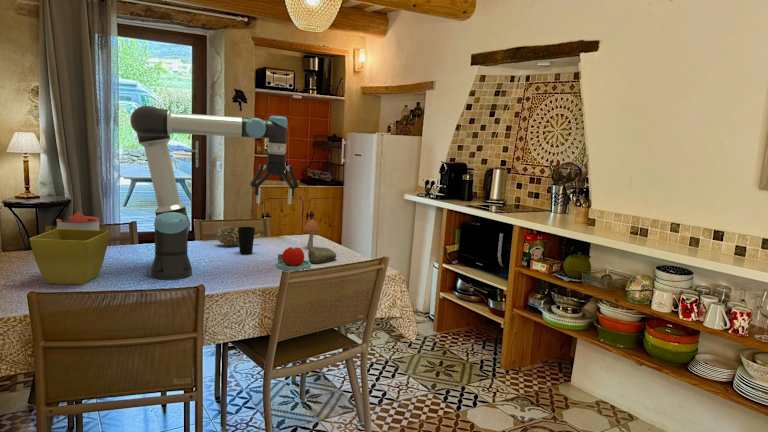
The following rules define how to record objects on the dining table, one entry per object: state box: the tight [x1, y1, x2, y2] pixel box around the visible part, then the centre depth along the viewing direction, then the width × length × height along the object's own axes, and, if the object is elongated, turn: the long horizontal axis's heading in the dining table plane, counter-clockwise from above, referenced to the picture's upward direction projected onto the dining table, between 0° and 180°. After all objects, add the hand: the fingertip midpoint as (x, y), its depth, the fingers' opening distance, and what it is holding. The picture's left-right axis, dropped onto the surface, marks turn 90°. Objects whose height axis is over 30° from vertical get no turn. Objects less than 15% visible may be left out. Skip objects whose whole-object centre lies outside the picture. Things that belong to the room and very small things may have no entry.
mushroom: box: [303, 219, 320, 250], centre depth 262 cm, size 8×8×15 cm
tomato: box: [281, 246, 305, 267], centre depth 226 cm, size 9×9×8 cm
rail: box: [277, 253, 283, 261], centre depth 235 cm, size 9×1×4 cm, turn 119°
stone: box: [307, 246, 337, 264], centre depth 239 cm, size 9×14×10 cm, turn 139°
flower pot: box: [29, 228, 110, 285], centre depth 190 cm, size 19×19×17 cm
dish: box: [275, 259, 312, 271], centre depth 227 cm, size 14×14×2 cm
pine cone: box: [215, 225, 261, 247], centre depth 261 cm, size 22×10×10 cm, turn 120°
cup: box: [237, 226, 256, 256], centre depth 245 cm, size 8×8×12 cm
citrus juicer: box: [55, 211, 101, 230], centre depth 218 cm, size 16×17×20 cm
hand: (273, 203), depth 225 cm, fingers open, 13 cm apart
